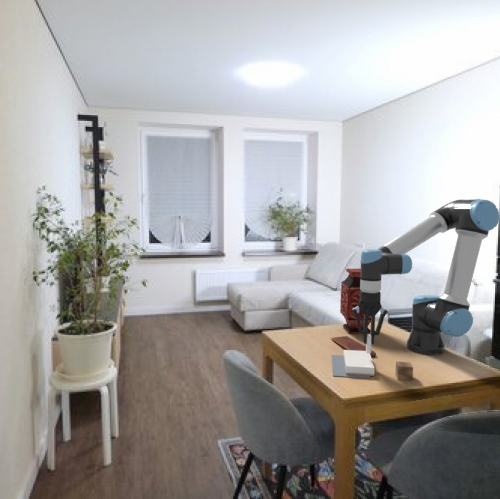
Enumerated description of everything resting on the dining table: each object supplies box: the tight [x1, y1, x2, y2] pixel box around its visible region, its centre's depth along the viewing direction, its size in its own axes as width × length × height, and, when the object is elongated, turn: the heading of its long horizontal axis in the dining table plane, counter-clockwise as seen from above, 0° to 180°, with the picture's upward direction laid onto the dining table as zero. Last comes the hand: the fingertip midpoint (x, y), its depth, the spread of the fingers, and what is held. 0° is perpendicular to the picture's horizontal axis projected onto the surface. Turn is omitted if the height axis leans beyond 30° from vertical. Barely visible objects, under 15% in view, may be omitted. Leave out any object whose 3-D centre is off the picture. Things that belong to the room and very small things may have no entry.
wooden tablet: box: [331, 335, 377, 357], centre depth 189 cm, size 27×10×2 cm, turn 12°
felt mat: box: [331, 354, 371, 379], centre depth 167 cm, size 13×22×1 cm, turn 171°
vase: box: [339, 268, 371, 335], centre depth 213 cm, size 14×14×30 cm
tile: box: [342, 349, 376, 377], centre depth 167 cm, size 3×18×10 cm
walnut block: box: [394, 361, 414, 382], centre depth 156 cm, size 5×5×5 cm
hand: (368, 352), depth 166 cm, fingers closed
